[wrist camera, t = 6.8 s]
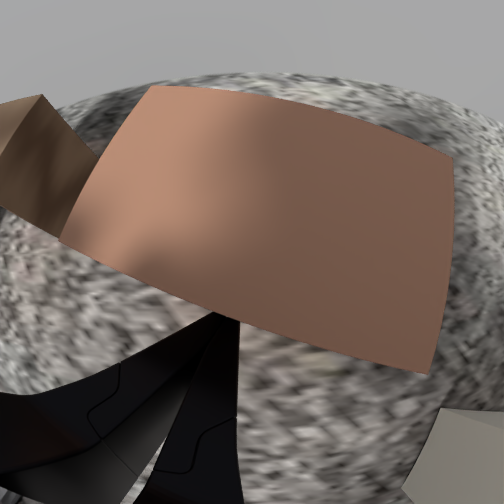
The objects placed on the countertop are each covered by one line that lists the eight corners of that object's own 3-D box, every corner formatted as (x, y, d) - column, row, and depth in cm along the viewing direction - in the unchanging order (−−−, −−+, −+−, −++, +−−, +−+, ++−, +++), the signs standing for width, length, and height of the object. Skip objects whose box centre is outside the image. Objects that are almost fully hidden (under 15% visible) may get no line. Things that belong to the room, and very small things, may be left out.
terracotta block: (340, 351, 13) (428, 375, 5) (167, 291, 15) (57, 240, 6) (369, 247, 15) (452, 158, 6) (206, 198, 16) (151, 85, 8)
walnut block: (76, 247, 16) (-19, 193, 8) (17, 216, 18) (-48, 173, 9) (112, 173, 18) (42, 94, 9) (46, 159, 20) (-10, 107, 11)
